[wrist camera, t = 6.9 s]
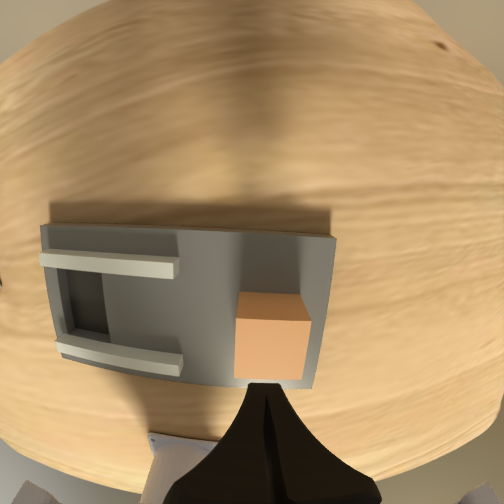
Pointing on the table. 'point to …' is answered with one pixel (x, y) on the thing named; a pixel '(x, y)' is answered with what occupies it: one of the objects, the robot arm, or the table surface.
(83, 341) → the channel
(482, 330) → the table surface
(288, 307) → the block
